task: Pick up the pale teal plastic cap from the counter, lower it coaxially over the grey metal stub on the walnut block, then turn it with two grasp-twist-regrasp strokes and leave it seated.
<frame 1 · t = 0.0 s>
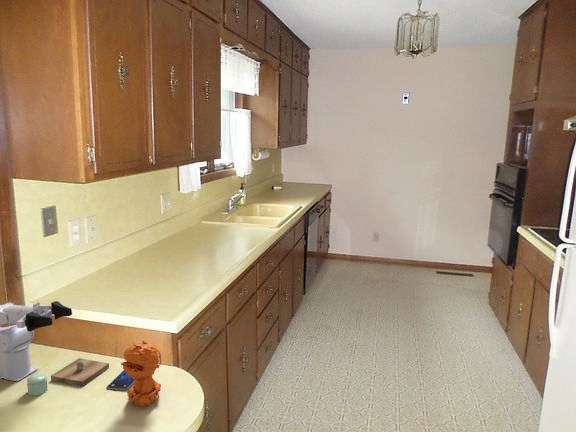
hand: (61, 316, 133), 22 cm above the countertop, tool horizontal, fingers open, 7 cm apart
smartphone: (128, 379, 140), on the countertop
toy dinosaur: (143, 400, 128), on the countertop
cap: (38, 390, 132), on the countertop
stub block: (81, 373, 142), on the countertop
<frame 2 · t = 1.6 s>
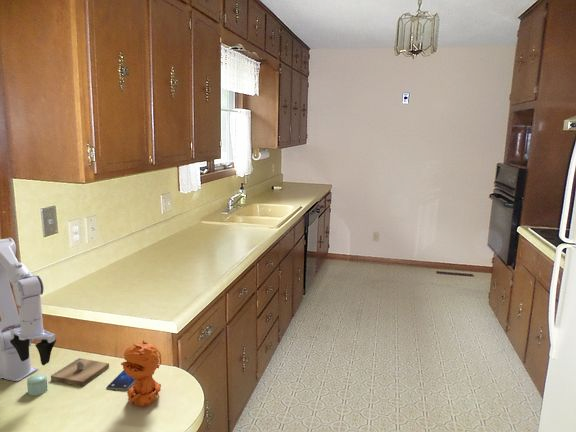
hand: (35, 361, 131), 9 cm above the countertop, tool pointing down, fingers open, 7 cm apart
nothing on the countertop moved.
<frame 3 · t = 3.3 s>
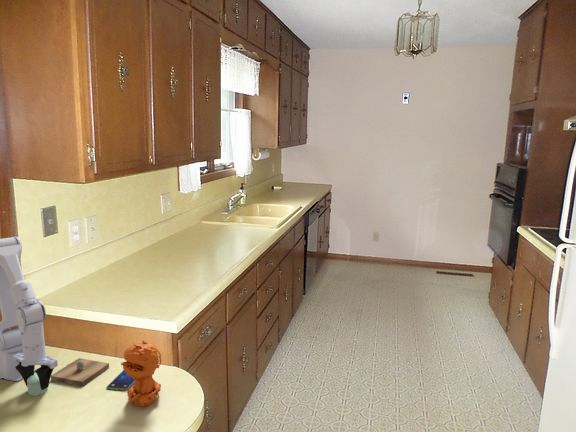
hand: (37, 386, 132), 1 cm above the countertop, tool pointing down, fingers closed on cap, 5 cm apart
cap: (38, 390, 132), on the countertop, touching gripper
everything else where it was.
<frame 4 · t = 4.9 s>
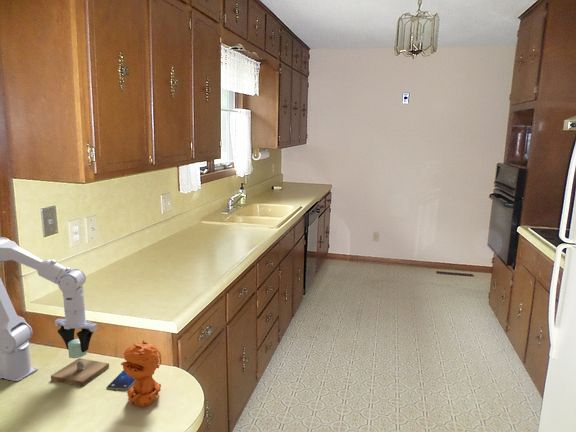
hand: (77, 349, 141), 8 cm above the countertop, tool pointing down, fingers closed on cap, 5 cm apart
cap: (77, 354, 141), point 7 cm above the countertop, touching gripper
everything else where it was.
when the fingers open (4 cm above the countertop, at t = 6.5 s): cap stays where it is, resting on stub block.
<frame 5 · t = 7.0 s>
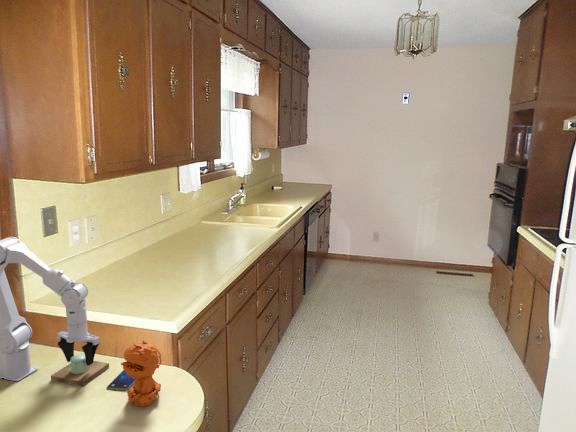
hand: (80, 362, 142), 4 cm above the countertop, tool pointing down, fingers open, 7 cm apart
cap: (80, 369, 142), point 1 cm above the countertop, touching stub block
everything else where it was.
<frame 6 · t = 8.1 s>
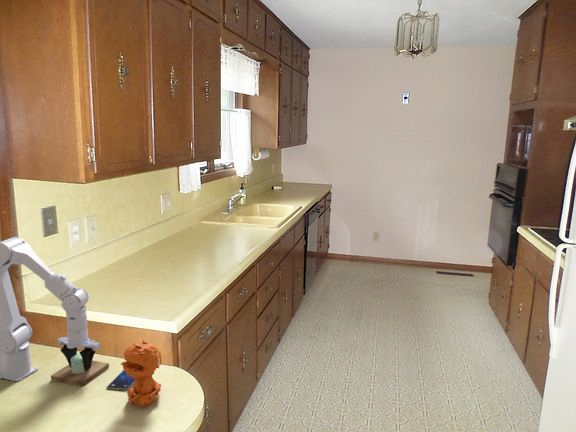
hand: (80, 367, 142), 2 cm above the countertop, tool pointing down, fingers closed on cap, 5 cm apart
cap: (80, 369, 142), point 1 cm above the countertop, touching gripper, stub block
everything else where it was.
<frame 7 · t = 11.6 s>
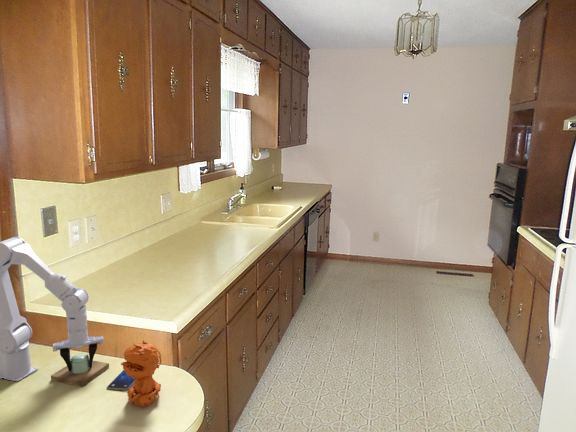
hand: (80, 367, 142), 2 cm above the countertop, tool pointing down, fingers closed on cap, 5 cm apart
cap: (80, 369, 142), point 2 cm above the countertop, touching gripper
everything else where it was.
when the fingers open (2 cm above the countertop, at t = 12.3 s): cap stays where it is, resting on stub block.
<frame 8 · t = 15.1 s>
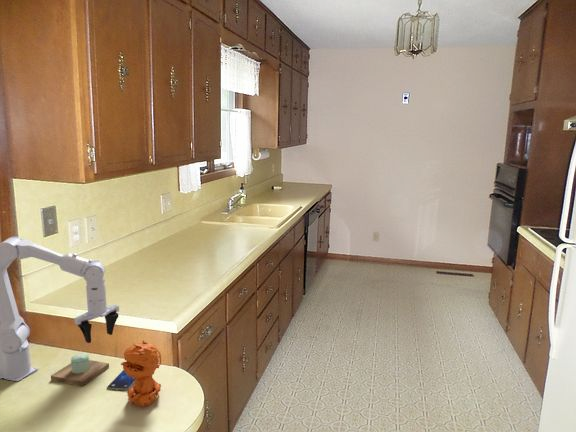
hand: (99, 337, 147), 9 cm above the countertop, tool pointing down, fingers open, 7 cm apart
cap: (80, 369, 142), point 1 cm above the countertop, touching stub block
everything else where it was.
at the end: cap 0.1 cm off-centre on the stub block, point 1.5 cm above the stub block's base; cap tilted 0°; the gripper is holding nothing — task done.
